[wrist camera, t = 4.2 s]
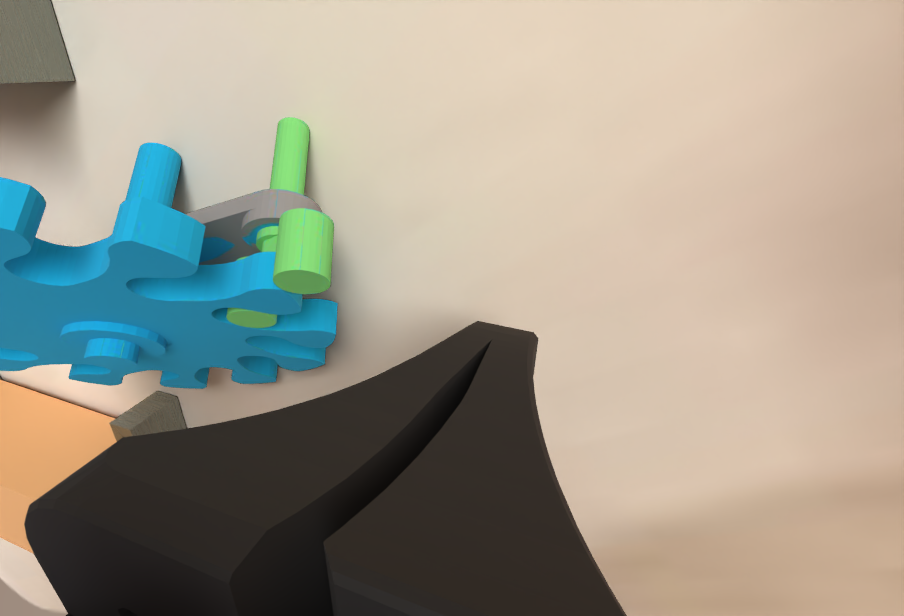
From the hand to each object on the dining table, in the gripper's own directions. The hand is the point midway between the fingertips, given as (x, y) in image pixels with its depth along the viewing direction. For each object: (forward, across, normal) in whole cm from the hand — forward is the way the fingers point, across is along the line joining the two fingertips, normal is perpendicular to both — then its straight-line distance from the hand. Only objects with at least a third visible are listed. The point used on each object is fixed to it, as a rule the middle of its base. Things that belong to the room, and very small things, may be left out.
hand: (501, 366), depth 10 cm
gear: (+2, +8, 0) cm, 9 cm away
